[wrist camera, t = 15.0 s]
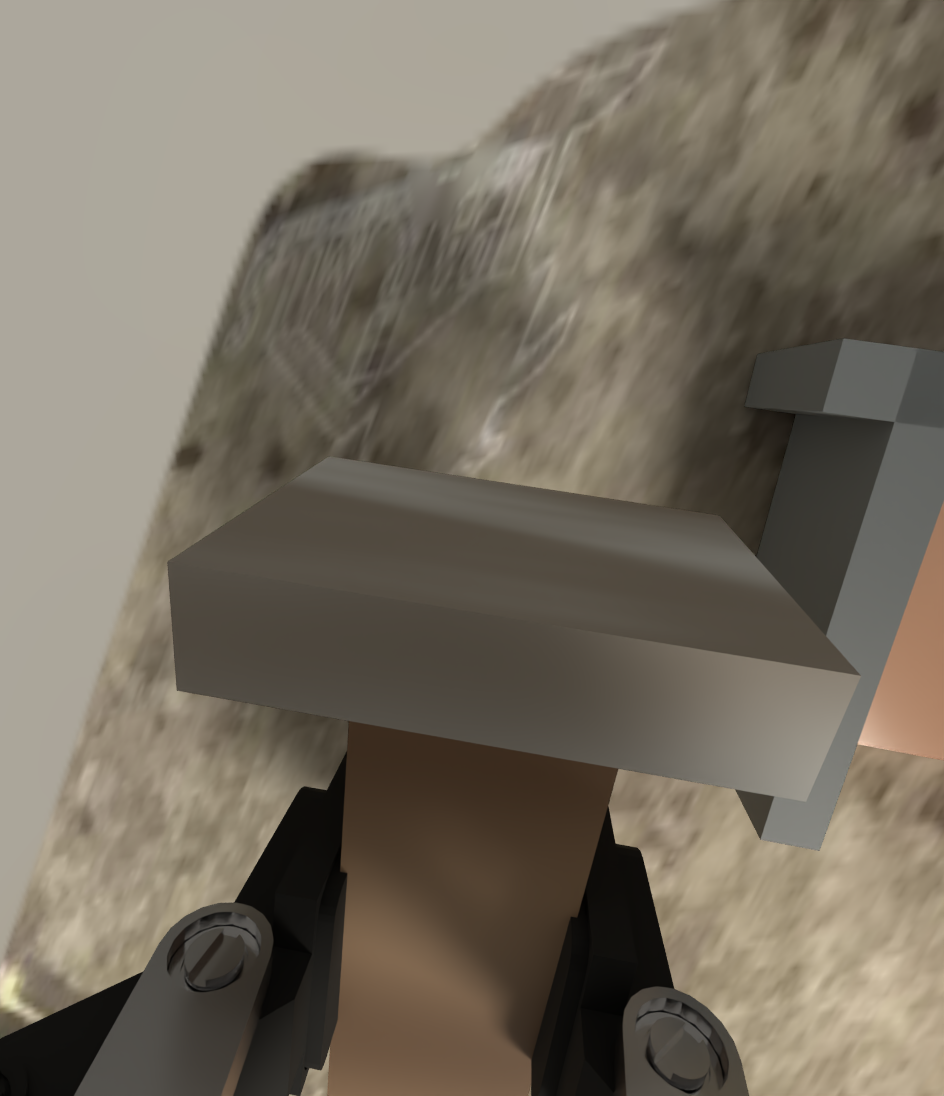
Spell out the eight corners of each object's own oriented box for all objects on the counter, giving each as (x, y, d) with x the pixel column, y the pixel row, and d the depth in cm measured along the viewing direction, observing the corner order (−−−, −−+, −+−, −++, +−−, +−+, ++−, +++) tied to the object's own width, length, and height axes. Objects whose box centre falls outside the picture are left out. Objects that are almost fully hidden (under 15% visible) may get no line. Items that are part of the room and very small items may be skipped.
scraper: (573, 1007, 15) (585, 1303, 11) (311, 955, 16) (215, 1218, 11) (719, 515, 10) (860, 675, 6) (328, 456, 11) (168, 561, 6)
